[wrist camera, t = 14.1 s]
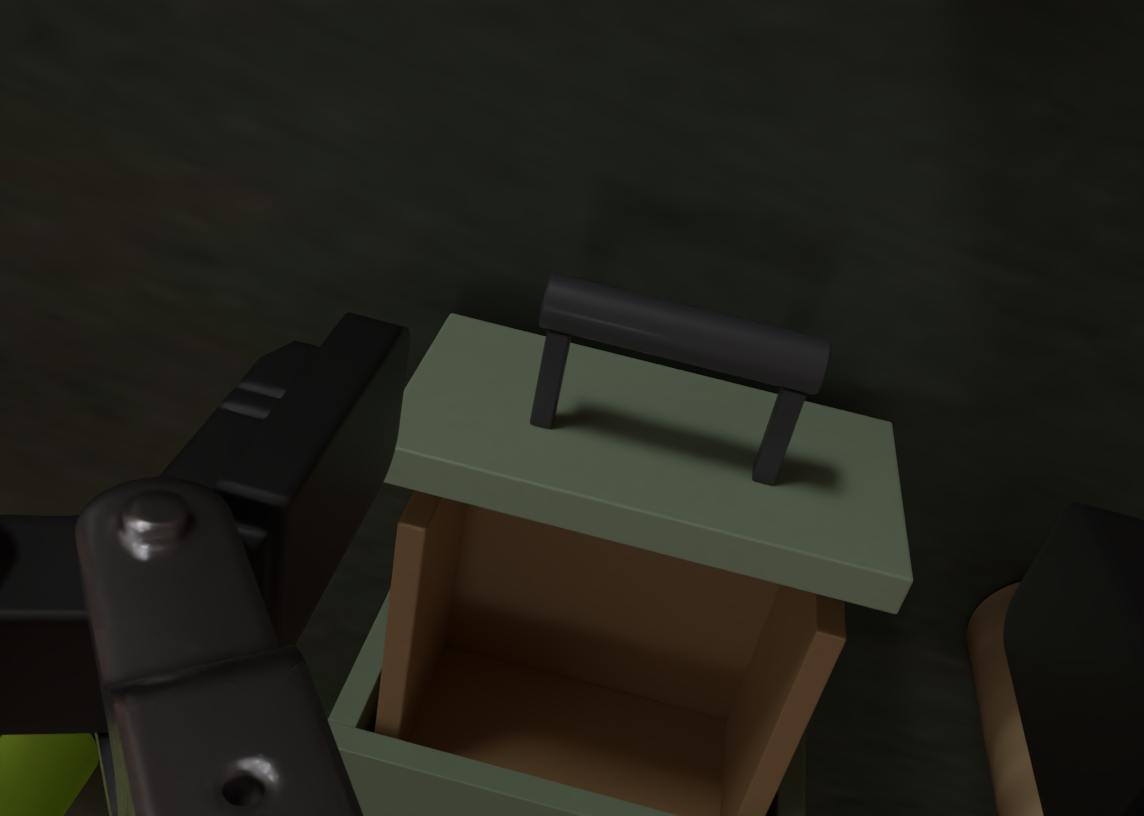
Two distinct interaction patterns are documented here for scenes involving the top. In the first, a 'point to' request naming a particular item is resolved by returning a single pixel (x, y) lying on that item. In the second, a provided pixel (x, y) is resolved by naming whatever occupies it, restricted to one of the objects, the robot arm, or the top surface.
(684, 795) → the drawer
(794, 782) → the cabinet
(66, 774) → the soap dispenser
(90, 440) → the top surface
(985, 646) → the roller
